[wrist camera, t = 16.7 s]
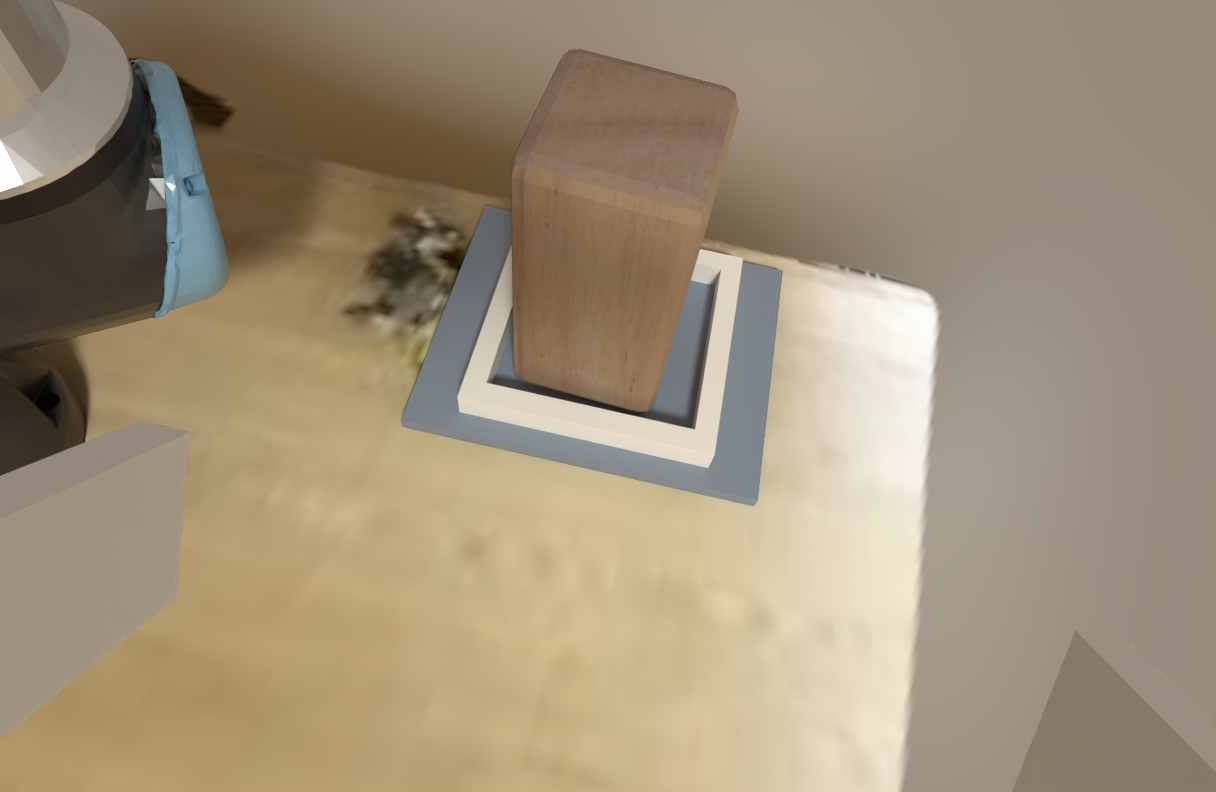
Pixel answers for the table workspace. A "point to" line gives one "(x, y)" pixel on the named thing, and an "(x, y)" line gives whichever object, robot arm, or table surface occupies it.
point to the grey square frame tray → (597, 433)
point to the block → (611, 223)
